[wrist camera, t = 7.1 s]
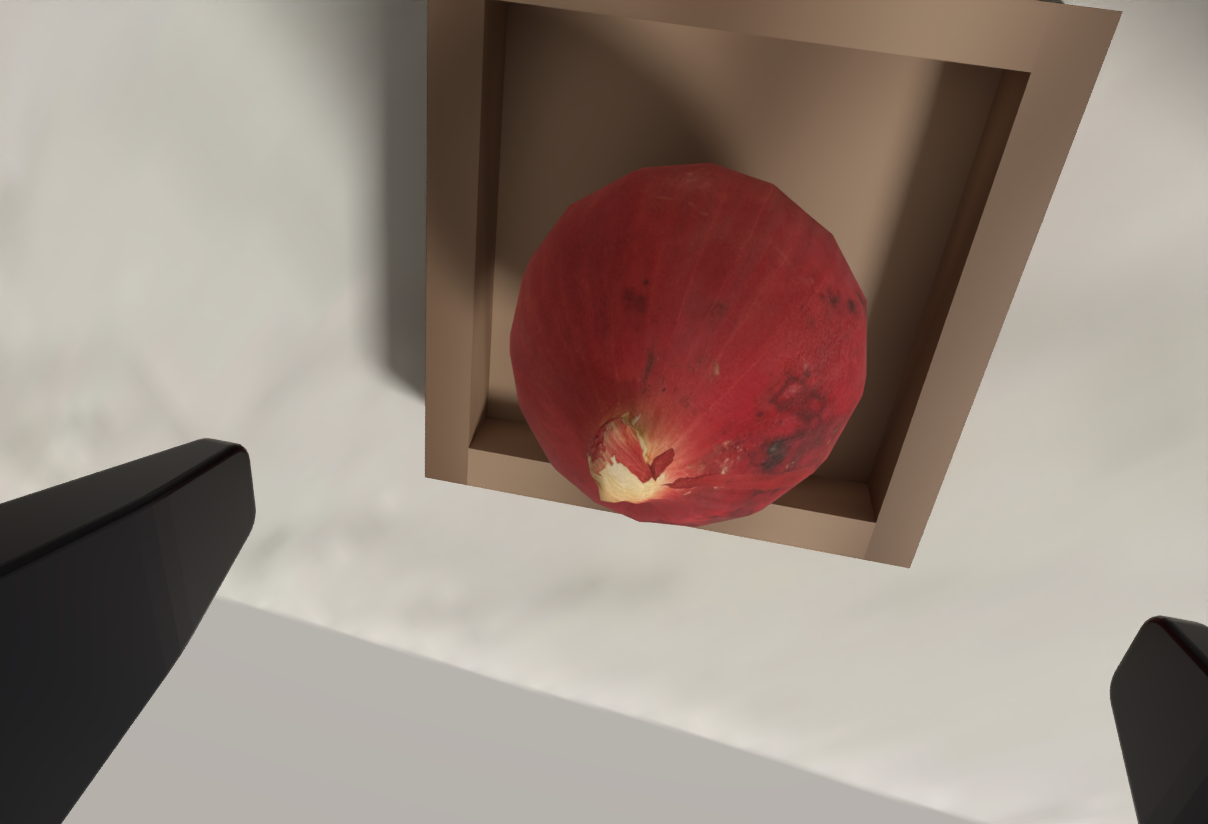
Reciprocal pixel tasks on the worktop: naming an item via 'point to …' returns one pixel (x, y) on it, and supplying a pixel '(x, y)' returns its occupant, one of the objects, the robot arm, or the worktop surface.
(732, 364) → the onion
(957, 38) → the tray
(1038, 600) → the worktop surface
